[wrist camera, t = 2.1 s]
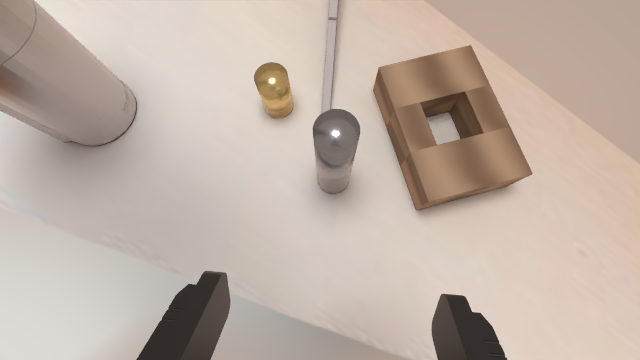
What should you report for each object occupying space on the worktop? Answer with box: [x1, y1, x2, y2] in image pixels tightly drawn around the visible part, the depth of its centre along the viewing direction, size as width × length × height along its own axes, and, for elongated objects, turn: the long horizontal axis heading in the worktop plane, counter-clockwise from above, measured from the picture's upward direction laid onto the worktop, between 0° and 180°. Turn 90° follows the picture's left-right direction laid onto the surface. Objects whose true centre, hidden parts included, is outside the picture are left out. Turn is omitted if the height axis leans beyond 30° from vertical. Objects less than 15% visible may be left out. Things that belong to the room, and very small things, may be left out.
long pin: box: [313, 109, 360, 194], centre depth 30 cm, size 4×4×13 cm
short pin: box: [254, 62, 293, 118], centre depth 36 cm, size 4×4×6 cm
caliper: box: [322, 0, 338, 113], centre depth 38 cm, size 20×1×6 cm, turn 176°
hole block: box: [373, 45, 533, 210], centre depth 35 cm, size 11×16×4 cm
